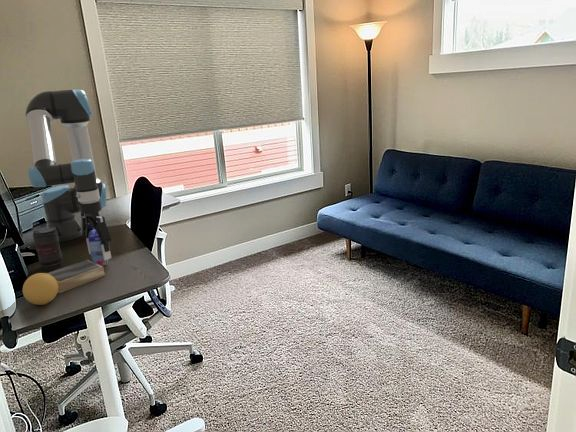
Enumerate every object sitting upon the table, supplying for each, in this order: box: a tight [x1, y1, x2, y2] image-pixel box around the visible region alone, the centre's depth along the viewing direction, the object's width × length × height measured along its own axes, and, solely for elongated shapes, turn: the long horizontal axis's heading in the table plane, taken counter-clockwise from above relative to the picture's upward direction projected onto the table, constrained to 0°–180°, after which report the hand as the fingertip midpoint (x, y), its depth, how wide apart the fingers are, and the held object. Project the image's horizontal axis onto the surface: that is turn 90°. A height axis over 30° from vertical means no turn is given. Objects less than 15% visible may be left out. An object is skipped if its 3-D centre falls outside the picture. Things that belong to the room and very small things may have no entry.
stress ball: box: [22, 272, 59, 306], centre depth 139 cm, size 10×10×10 cm
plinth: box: [48, 259, 106, 294], centre depth 155 cm, size 12×16×4 cm
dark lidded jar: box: [32, 226, 63, 270], centre depth 168 cm, size 8×8×15 cm
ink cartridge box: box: [88, 229, 109, 267], centre depth 169 cm, size 10×6×14 cm, turn 20°
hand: (100, 256), depth 170 cm, fingers closed on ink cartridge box, 11 cm apart
